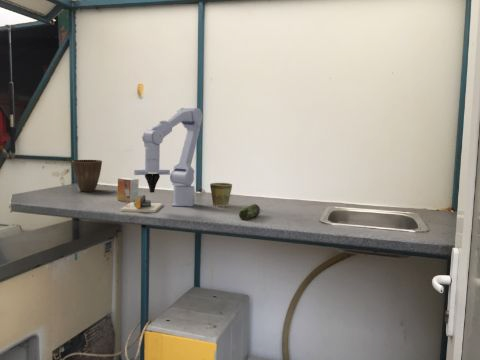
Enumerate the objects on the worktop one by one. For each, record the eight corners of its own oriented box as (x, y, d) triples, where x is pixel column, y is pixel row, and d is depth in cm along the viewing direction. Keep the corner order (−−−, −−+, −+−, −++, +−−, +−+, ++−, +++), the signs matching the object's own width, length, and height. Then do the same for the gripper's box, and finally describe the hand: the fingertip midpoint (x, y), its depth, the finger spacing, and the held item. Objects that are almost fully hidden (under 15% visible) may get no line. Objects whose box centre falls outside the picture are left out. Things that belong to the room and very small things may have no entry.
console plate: (162, 205, 181) (162, 202, 181) (154, 212, 165) (154, 209, 165) (131, 204, 181) (131, 201, 181) (120, 211, 165) (120, 208, 165)
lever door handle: (136, 203, 176) (136, 194, 176) (152, 204, 176) (152, 194, 176) (129, 208, 165) (129, 198, 164) (146, 209, 165) (146, 198, 164)
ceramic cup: (228, 208, 180) (229, 186, 178) (207, 206, 181) (207, 184, 180) (235, 203, 192) (235, 182, 191) (214, 202, 194) (215, 181, 193)
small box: (117, 200, 189) (117, 178, 188) (125, 199, 194) (125, 177, 193) (130, 202, 186) (130, 179, 184) (138, 200, 190) (138, 178, 189)
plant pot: (91, 193, 207) (91, 162, 205) (66, 191, 210) (65, 160, 208) (107, 189, 221) (107, 160, 219) (83, 188, 225) (83, 159, 223)
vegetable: (249, 221, 155) (249, 208, 154) (236, 220, 157) (237, 207, 156) (262, 215, 167) (263, 203, 167) (251, 214, 169) (251, 202, 169)
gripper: (166, 158, 173) (166, 190, 174) (132, 158, 166) (132, 191, 168) (171, 160, 167) (171, 192, 168) (136, 159, 160) (135, 193, 162)
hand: (151, 192), depth 168 cm, fingers closed
